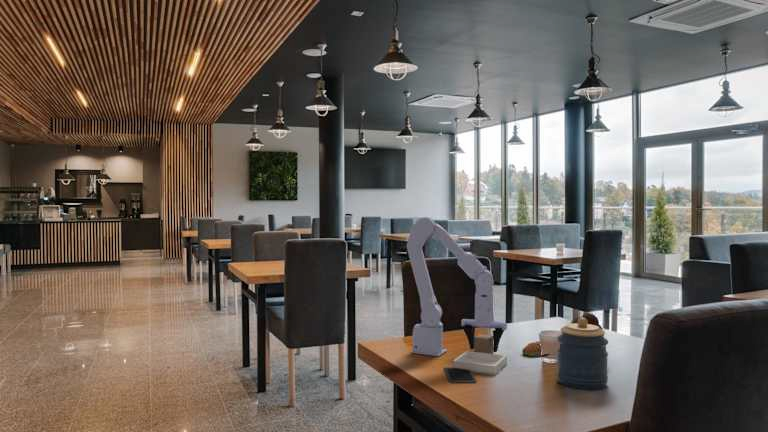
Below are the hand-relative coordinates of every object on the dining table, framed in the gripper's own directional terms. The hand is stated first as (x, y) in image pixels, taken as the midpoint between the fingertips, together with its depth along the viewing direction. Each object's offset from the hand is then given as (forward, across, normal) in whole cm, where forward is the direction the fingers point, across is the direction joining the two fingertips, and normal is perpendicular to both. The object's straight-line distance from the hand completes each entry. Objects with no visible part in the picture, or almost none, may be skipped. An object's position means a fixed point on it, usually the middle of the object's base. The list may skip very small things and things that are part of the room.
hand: (483, 350), depth 177 cm
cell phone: (+2, 0, -24) cm, 25 cm away
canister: (+2, +32, -15) cm, 35 cm away
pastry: (+2, +14, +10) cm, 18 cm away
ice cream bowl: (+2, +30, +8) cm, 31 cm away
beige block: (+2, 0, 0) cm, 2 cm away
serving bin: (+2, +3, -13) cm, 13 cm away
